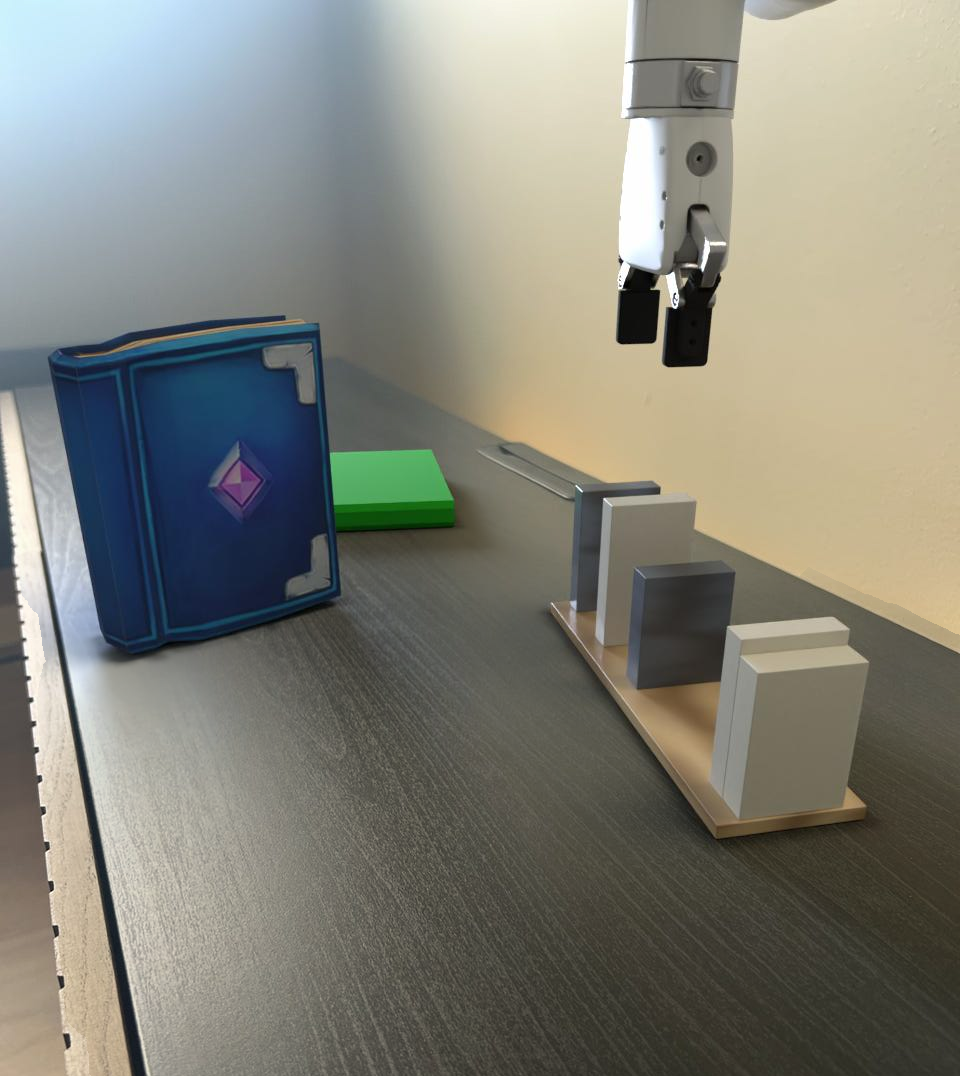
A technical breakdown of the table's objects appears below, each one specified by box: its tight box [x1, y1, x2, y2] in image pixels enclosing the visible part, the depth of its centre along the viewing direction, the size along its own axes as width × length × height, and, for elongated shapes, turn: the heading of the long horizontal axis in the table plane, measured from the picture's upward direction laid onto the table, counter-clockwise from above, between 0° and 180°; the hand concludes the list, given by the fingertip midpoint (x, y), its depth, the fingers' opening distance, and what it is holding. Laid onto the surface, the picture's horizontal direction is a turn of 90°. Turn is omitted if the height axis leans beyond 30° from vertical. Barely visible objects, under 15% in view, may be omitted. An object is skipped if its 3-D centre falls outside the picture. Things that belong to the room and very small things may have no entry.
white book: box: [595, 492, 698, 647], centre depth 85 cm, size 7×2×12 cm, turn 103°
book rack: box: [550, 480, 867, 840], centre depth 78 cm, size 10×36×12 cm, turn 13°
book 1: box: [47, 314, 342, 655], centre depth 88 cm, size 22×7×25 cm, turn 129°
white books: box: [709, 616, 870, 820], centre depth 64 cm, size 7×4×11 cm, turn 103°
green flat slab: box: [330, 448, 456, 532], centre depth 124 cm, size 22×28×3 cm
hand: (658, 354), depth 79 cm, fingers open, 9 cm apart
